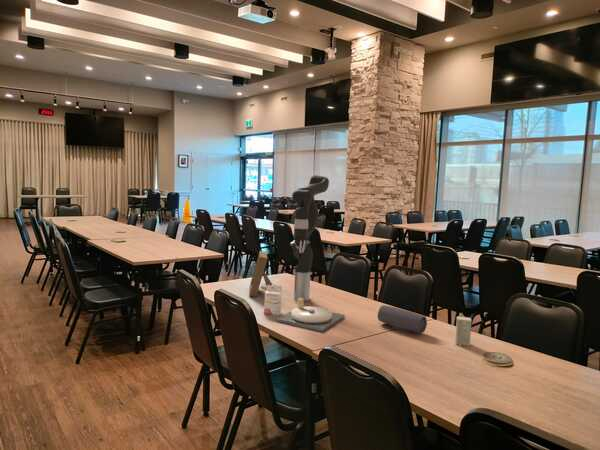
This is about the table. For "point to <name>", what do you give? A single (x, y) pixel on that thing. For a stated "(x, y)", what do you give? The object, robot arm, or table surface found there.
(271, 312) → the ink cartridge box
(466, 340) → the skincare box
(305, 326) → the base plate
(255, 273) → the photo frame
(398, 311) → the bluetooth speaker
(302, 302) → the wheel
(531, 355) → the table surface
